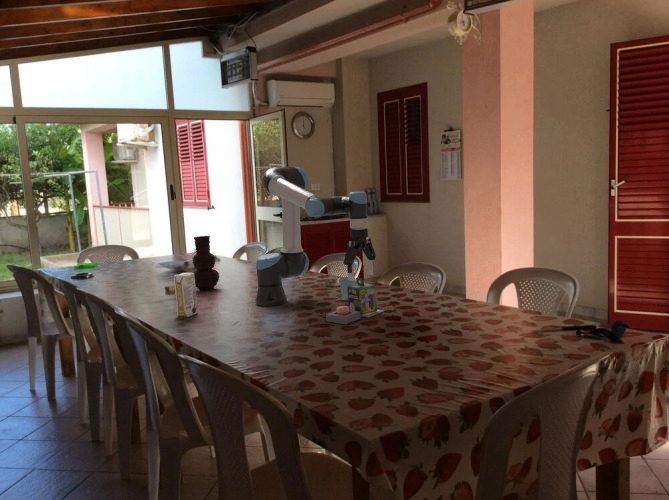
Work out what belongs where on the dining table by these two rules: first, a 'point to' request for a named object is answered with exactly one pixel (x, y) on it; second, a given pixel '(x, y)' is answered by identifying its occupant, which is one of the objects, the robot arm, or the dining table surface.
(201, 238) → the vase
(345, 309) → the button
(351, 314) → the button housing
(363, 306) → the chalk box
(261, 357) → the dining table surface
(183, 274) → the juice carton
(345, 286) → the cup
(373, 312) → the sketch board
